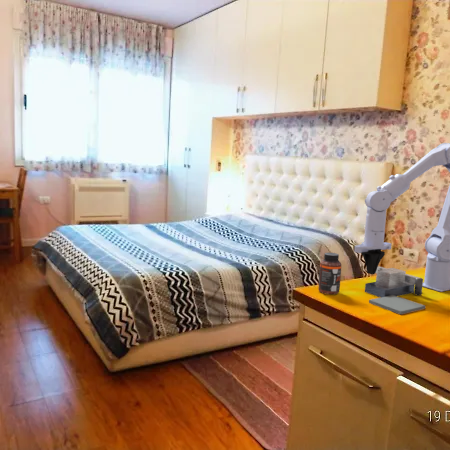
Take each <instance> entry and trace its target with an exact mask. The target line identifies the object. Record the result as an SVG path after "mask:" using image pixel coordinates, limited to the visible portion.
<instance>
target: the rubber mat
mask: <svg viewBox="0 0 450 450" xmlns="http://www.w3.org/2000/svg"><path fill="white" fill-rule="evenodd" d="M368 303H369V304H371V305H374V306H377V307H379V308H382V309H384V310H387V311H390V312H392V313H395V314H397V315H398V314H399V315H404V314H408V313H412V312H417V311H421V310H424V309H426V305H425V304H422V303H418V302H416V301H414V300H413V301H412V300H409V299H406V298H404V297H400V296H395V295H391V296H386V297H377V298H371V299H369V300H368Z"/></svg>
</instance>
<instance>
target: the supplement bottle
mask: <svg viewBox="0 0 450 450" xmlns="http://www.w3.org/2000/svg"><path fill="white" fill-rule="evenodd" d="M339 256H340V255H339V253H335V252H325V253H324V255H323V257H324V259H321V261H320V263H319V264H320V265H319V274H318V275H319V276H318V277H319V278H318V291H319V292H320V293H321V294H324V295H337V294H339V292H340V289H341V288H340V287H341V276H342V263H341V261H340V260H339Z"/></svg>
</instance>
